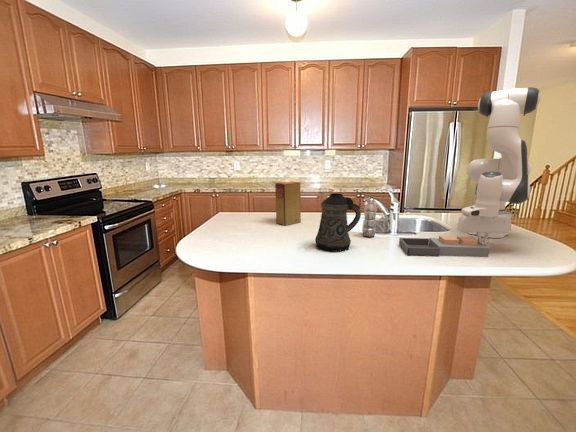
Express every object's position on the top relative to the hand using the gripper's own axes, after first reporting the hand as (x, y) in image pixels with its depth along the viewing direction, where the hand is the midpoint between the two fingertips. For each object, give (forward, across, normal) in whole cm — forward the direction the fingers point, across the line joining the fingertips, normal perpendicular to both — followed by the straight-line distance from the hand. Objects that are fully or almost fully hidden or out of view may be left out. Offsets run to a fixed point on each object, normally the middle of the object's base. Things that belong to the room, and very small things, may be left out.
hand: (481, 241), depth 128 cm
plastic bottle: (+5, +45, -20) cm, 49 cm away
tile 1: (+1, +14, 0) cm, 14 cm away
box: (+5, +26, 0) cm, 27 cm away
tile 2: (+1, +6, 0) cm, 6 cm away
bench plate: (+5, +10, 0) cm, 11 cm away
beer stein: (+5, +63, -4) cm, 63 cm away
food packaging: (+5, +89, -46) cm, 100 cm away
